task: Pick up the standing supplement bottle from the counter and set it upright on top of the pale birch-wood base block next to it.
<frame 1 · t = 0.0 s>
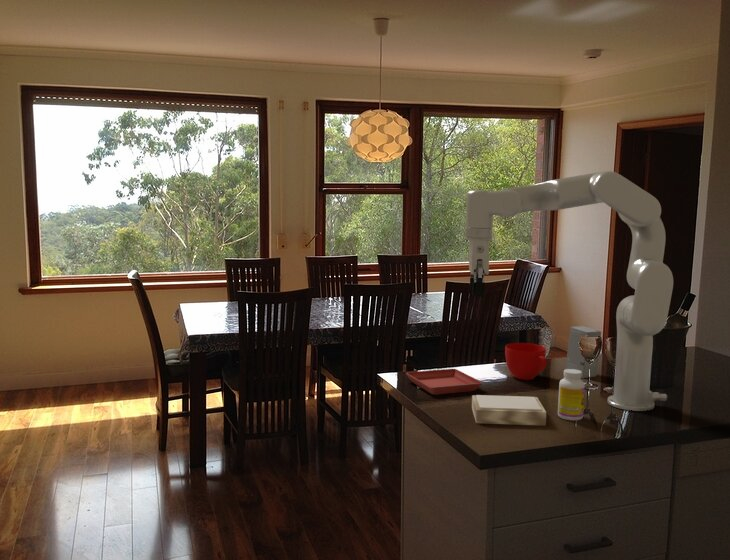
hand: (476, 293, 196), 31 cm above the table, fingers open, 9 cm apart
skincare box: (581, 375, 229), on the table
ceramic cup: (527, 379, 224), on the table
plant saucer: (443, 388, 214), on the table
birch base: (507, 416, 186), on the table
supplement bottle: (570, 418, 186), on the table
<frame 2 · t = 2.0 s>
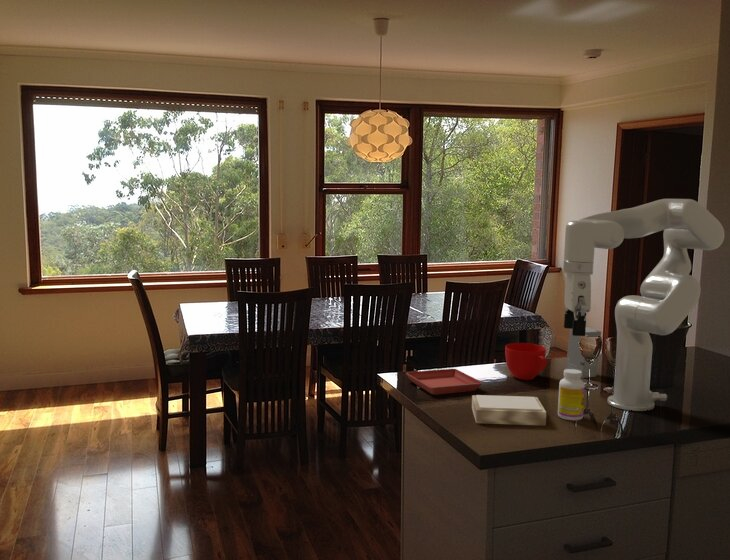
hand: (574, 331, 183), 24 cm above the table, fingers open, 9 cm apart
nothing on the table moved.
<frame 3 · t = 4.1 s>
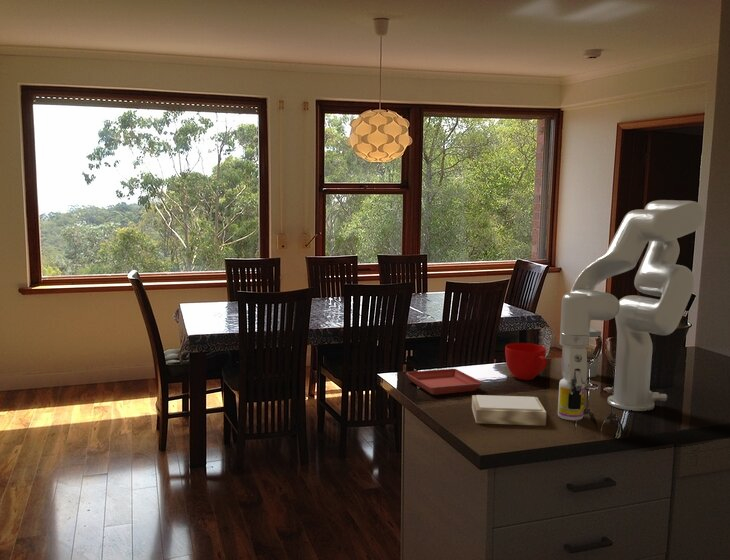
hand: (570, 403, 185), 4 cm above the table, fingers closed on supplement bottle, 6 cm apart
supplement bottle: (570, 417, 186), on the table, touching gripper
everything else where it was.
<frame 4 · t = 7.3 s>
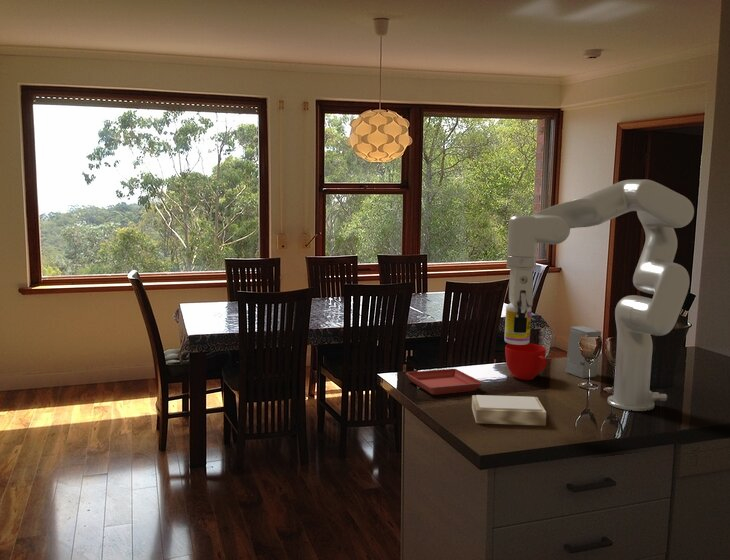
hand: (517, 328, 183), 24 cm above the table, fingers closed on supplement bottle, 6 cm apart
supplement bottle: (516, 343, 183), point 20 cm above the table, touching gripper
everything else where it was.
when the fingers open (10 cm above the table, at t = 10.7 s): supplement bottle drops 2 cm, resting on birch base.
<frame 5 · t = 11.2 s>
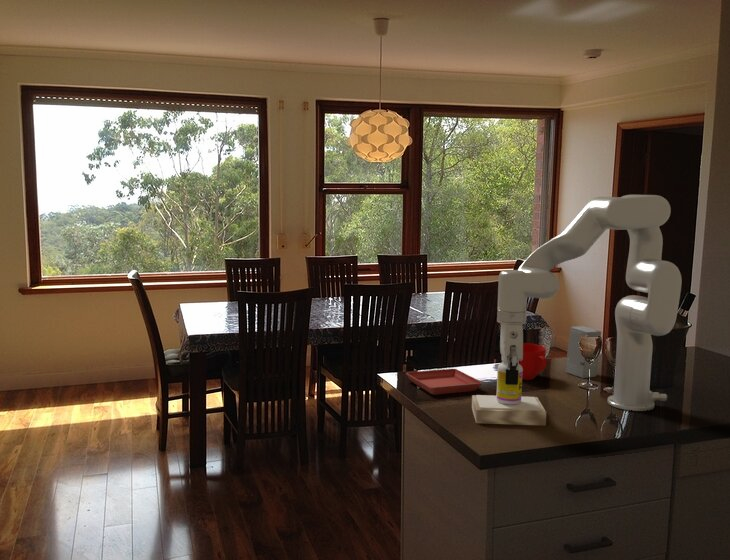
hand: (508, 379, 185), 10 cm above the table, fingers open, 9 cm apart
supplement bottle: (508, 402, 186), point 4 cm above the table, touching birch base
everything else where it was.
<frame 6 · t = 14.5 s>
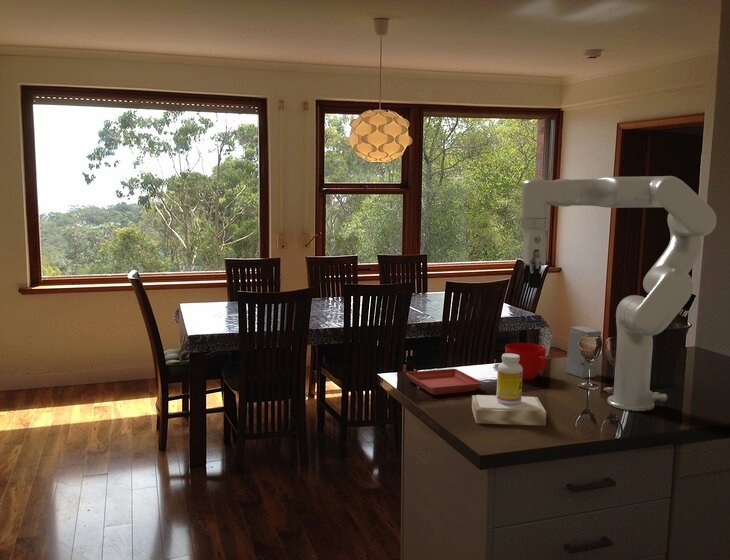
hand: (531, 285, 193), 34 cm above the table, fingers open, 9 cm apart
nothing on the table moved.
at the end: supplement bottle 0.3 cm from the birch base (horizontally); supplement bottle point 3.8 cm above the table; supplement bottle tilted 0° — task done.
